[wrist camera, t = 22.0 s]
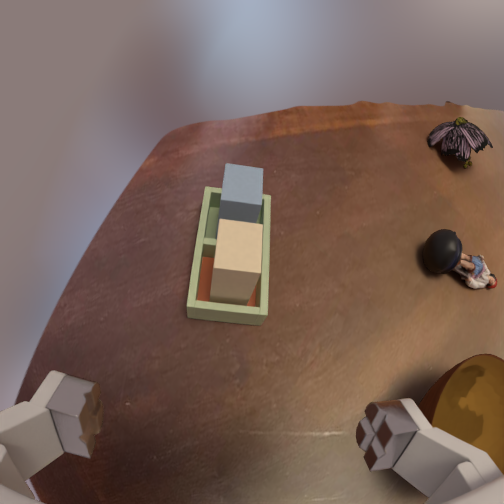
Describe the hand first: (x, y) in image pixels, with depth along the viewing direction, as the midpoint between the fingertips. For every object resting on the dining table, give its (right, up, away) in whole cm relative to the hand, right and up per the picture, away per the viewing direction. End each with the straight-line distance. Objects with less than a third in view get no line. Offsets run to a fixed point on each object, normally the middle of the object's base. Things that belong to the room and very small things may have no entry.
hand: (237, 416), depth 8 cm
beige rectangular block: (-2, +1, +27) cm, 28 cm away
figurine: (+33, +1, +36) cm, 49 cm away
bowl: (+23, -19, +22) cm, 37 cm away
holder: (-2, +4, +30) cm, 30 cm away
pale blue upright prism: (-2, +7, +31) cm, 32 cm away
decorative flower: (+46, +27, +52) cm, 75 cm away
